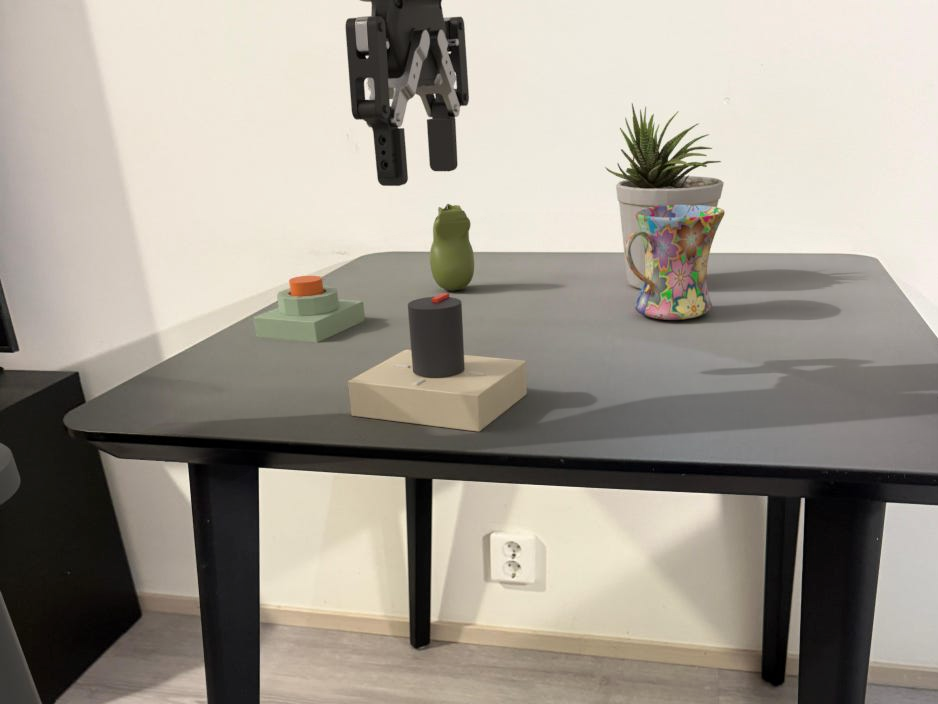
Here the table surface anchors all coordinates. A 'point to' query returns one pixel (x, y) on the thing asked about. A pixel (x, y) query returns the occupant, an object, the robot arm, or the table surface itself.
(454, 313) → the dial
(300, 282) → the button
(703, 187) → the potted plant
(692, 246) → the mug
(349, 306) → the button block
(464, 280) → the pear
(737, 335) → the table surface
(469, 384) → the panel
